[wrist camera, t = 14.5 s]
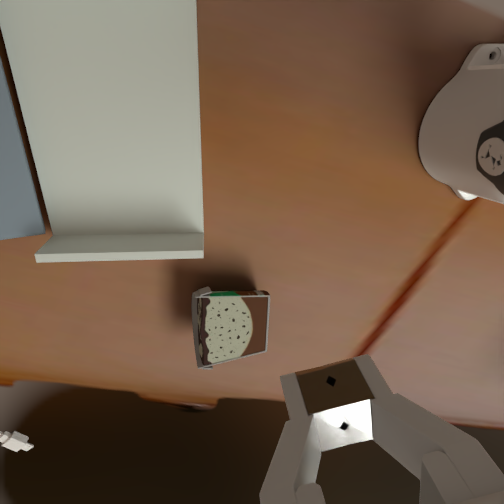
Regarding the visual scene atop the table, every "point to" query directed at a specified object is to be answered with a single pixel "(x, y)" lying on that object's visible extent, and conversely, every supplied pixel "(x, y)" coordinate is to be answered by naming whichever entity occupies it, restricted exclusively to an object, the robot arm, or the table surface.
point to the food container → (229, 325)
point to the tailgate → (15, 176)
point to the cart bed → (111, 124)
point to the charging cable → (15, 441)
